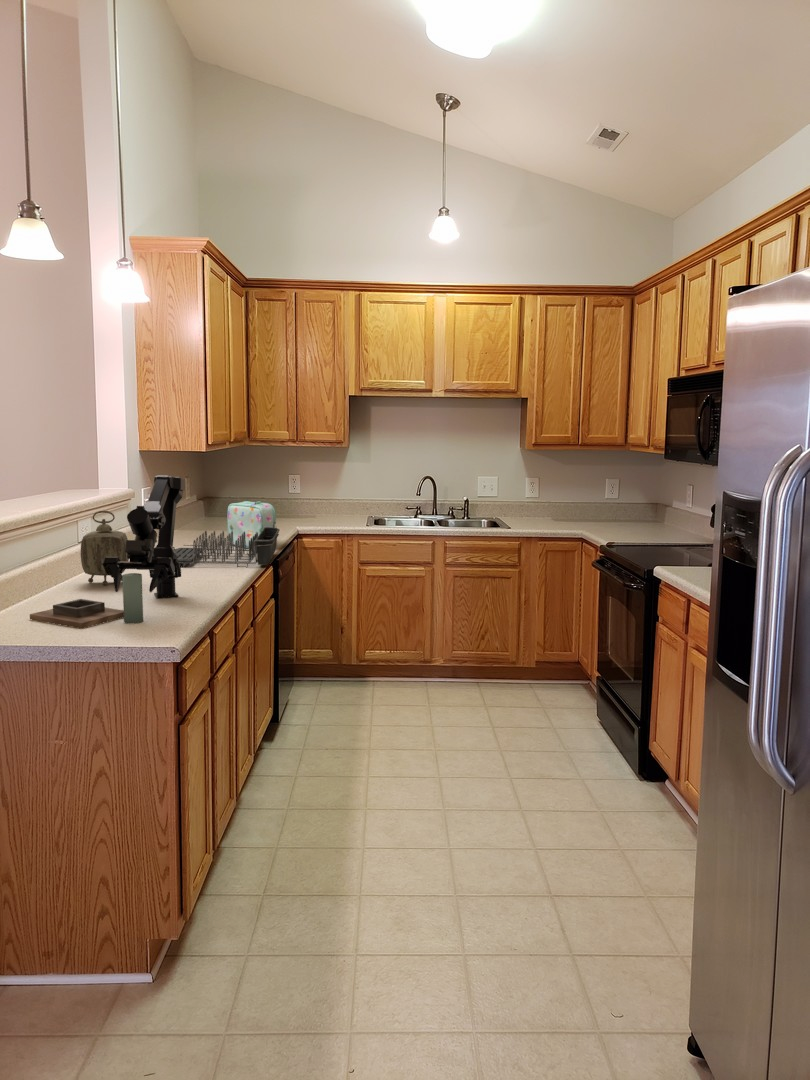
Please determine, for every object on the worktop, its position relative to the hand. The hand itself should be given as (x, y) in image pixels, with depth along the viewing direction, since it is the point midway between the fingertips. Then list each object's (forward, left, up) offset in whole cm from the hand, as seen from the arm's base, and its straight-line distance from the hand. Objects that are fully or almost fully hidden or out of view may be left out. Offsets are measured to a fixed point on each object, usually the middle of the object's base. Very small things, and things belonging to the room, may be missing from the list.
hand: (133, 591), depth 211 cm
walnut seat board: (-9, -13, -8) cm, 18 cm away
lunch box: (-120, +68, -8) cm, 138 cm away
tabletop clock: (-56, -1, -8) cm, 57 cm away
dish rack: (-88, +46, -9) cm, 100 cm away
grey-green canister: (+1, 0, -8) cm, 8 cm away
